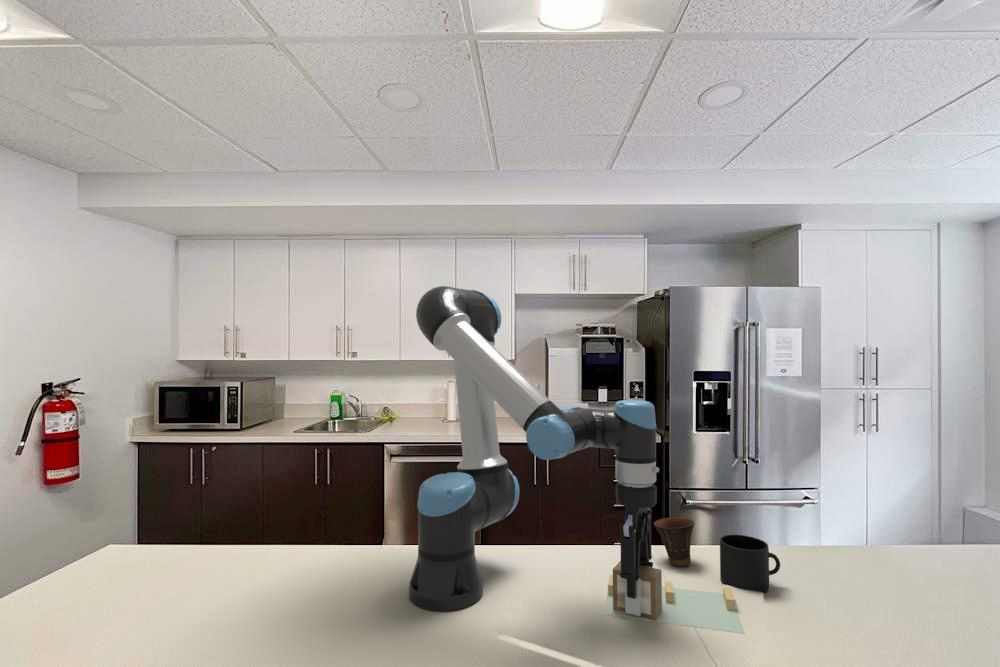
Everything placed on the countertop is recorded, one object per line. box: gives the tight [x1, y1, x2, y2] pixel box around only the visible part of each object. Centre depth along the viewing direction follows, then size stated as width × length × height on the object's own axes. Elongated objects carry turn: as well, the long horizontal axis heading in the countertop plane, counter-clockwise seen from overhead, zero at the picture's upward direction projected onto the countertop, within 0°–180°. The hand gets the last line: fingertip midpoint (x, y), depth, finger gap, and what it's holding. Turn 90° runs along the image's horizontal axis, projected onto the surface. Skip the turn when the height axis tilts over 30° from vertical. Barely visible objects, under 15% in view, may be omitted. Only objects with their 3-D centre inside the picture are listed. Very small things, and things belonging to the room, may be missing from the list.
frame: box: [612, 560, 663, 621], centre depth 97 cm, size 8×5×8 cm, turn 59°
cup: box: [653, 516, 695, 567], centre depth 122 cm, size 9×9×10 cm
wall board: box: [603, 574, 746, 635], centre depth 100 cm, size 24×15×3 cm, turn 74°
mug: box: [719, 534, 781, 594], centre depth 110 cm, size 9×12×9 cm
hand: (637, 607), depth 97 cm, fingers closed on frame, 5 cm apart
